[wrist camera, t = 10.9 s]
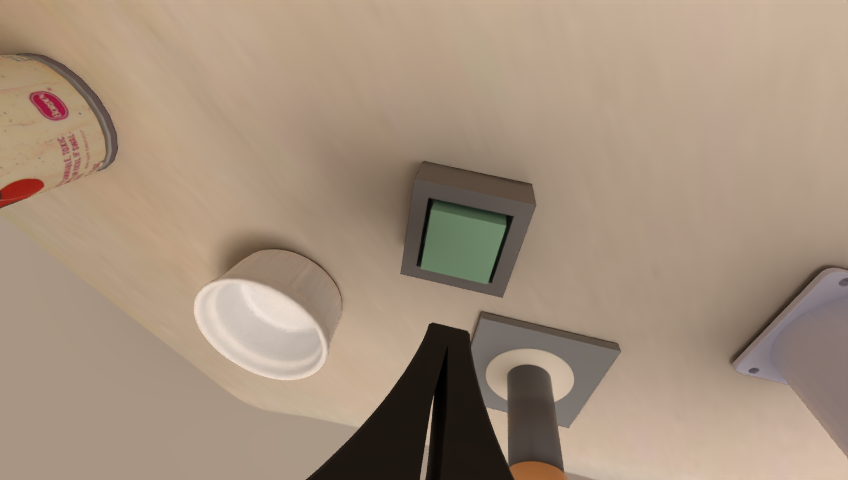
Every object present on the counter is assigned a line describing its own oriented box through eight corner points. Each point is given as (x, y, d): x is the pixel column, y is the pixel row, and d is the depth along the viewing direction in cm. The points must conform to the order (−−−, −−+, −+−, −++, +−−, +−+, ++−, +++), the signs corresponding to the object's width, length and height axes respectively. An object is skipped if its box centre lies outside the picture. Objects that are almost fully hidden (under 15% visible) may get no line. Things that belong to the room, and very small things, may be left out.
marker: (559, 370, 24) (582, 503, 18) (543, 397, 26) (558, 529, 19) (512, 358, 24) (517, 485, 18) (500, 386, 26) (500, 512, 19)
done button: (505, 203, 19) (506, 226, 17) (488, 258, 21) (487, 284, 19) (438, 189, 19) (431, 209, 17) (428, 244, 21) (420, 268, 19)
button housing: (531, 184, 19) (536, 205, 16) (502, 270, 22) (502, 297, 20) (423, 161, 19) (414, 178, 17) (409, 249, 22) (400, 274, 20)
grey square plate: (618, 344, 23) (621, 352, 22) (567, 420, 28) (568, 429, 27) (481, 311, 24) (481, 319, 23) (455, 392, 29) (454, 399, 28)
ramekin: (373, 319, 26) (353, 367, 22) (286, 345, 30) (257, 391, 26) (299, 221, 23) (261, 260, 19) (211, 263, 26) (164, 303, 22)
